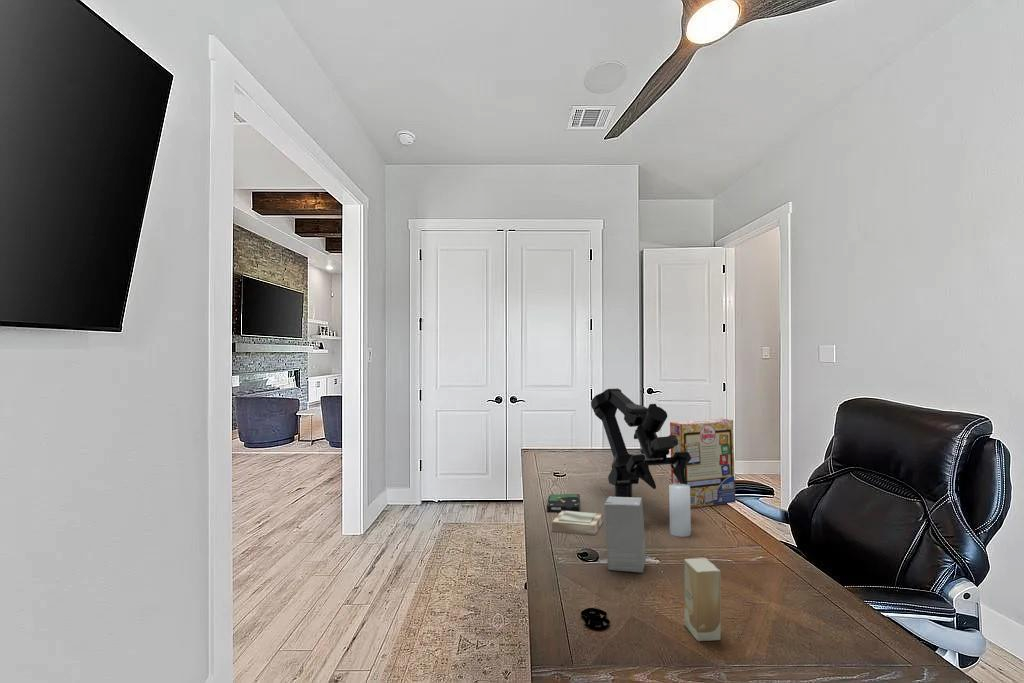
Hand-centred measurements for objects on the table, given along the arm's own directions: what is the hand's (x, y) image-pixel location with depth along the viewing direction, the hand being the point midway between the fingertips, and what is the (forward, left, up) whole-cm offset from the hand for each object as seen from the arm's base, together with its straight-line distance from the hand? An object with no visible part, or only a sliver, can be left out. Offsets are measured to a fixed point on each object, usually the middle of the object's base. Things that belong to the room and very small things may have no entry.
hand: (669, 487), depth 163 cm
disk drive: (-14, -34, -12) cm, 39 cm away
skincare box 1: (+33, -8, -12) cm, 36 cm away
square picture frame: (+6, -25, -11) cm, 28 cm away
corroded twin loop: (+61, -10, -12) cm, 63 cm away
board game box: (-29, +9, -12) cm, 32 cm away
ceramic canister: (+4, +3, -11) cm, 13 cm away
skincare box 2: (+60, +9, -12) cm, 62 cm away
